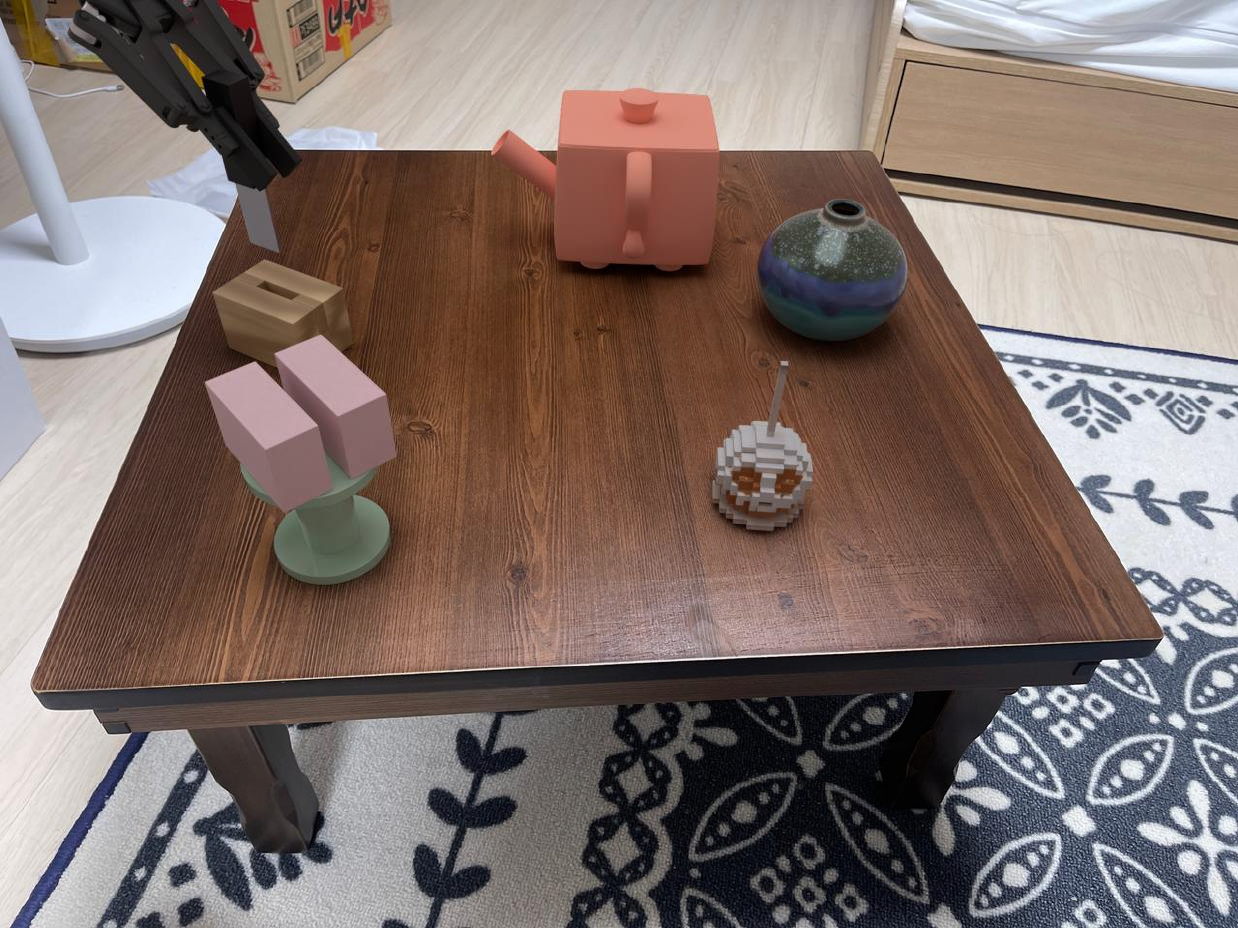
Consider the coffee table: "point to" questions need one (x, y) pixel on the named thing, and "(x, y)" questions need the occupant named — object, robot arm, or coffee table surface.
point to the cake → (303, 421)
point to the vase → (832, 272)
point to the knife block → (280, 311)
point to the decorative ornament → (763, 471)
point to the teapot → (628, 177)
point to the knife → (254, 204)
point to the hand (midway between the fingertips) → (280, 175)
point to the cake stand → (330, 531)
